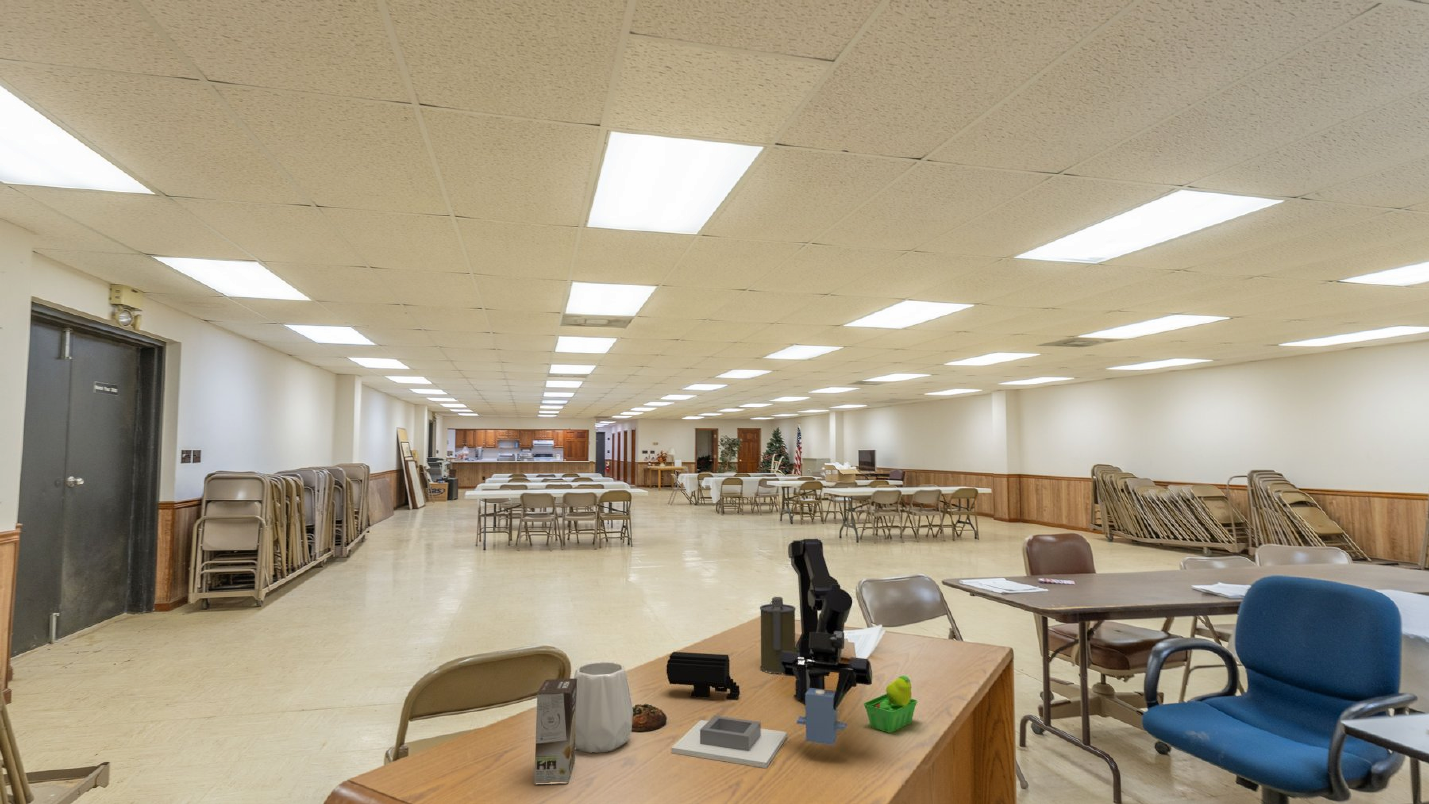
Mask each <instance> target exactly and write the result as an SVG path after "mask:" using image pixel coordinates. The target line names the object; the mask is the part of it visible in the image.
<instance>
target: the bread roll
mask: <svg viewBox="0 0 1429 804" xmlns="http://www.w3.org/2000/svg"><path fill="white" fill-rule="evenodd" d="M632 708H633V718H632V730H631V732H632V731H633V732H651V731H655V730H659V729H660V728H662V727H665V726H666V724H667V719H668V717H667V715H666V714H665V712H664V711H663V710H662V709H659V707H656V706H653V705H652V704H648V703H644V704H643V703H642V704H640V703H639V704H635V705H634V706H632Z"/></svg>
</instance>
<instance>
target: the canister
mask: <svg viewBox="0 0 1429 804" xmlns="http://www.w3.org/2000/svg"><path fill="white" fill-rule="evenodd" d="M759 610H760V668H761V669H760V670H761V671H762V670H763V671H762V672H764V671H767V672H771V673H770V674H772V673H779V674H778V675H782V674H781V673H782V670H781V667H780V664H779V656H780V654H781V653H782V652H783V651H793V652H795V651H796V607H795V606H793V605H790V604H784V599H783V597H782V596H773V597H772V598H771V601H770V603H769V604H767V603H766V604H763V605H761V606H759Z"/></svg>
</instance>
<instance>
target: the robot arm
mask: <svg viewBox="0 0 1429 804" xmlns="http://www.w3.org/2000/svg"><path fill="white" fill-rule="evenodd" d="M823 544H824V543H823V541H822V540H821V539H819V538H803V539H799V540H797V539H796V540H793V539H792V542H791V543H789V544H788V546H787V555H788V558H789V559H790V565H791V567H792V569H793V570H794V572H795V574H796V575H797V580H798V582H797V583H798V596H799V598H798V600H799V613H800V616H799V617H800V628H801V630H800V631H801V635H800V636H799V638H798V640H797V641H796V643H795V652H793V651H783V652H782V653H781V654H780V656H779V664H780V667H781V670H782V673H783V674H782V675H784V676H787V677H794V678H795V683H794V684H795V694H794V695H793V698H795V699H797V700H798V701H800V702H801V703H803V705H804V707H806V704H805V694H806V692H807V691H808V690H809V688H816V689H824V690H826V689H825V687H826V684H825V683H826V682H825V679H826V678H825V677H829V676H830V675H831V673H835V674H838V679H837V683H836V689H835V691H836V692H835V697H834V705H833V708H834V710H836V709H837V710H838V708H839V706H840V704H841V703H842V700H843V699H844V698H845V696H846V695H847V693H849V691H850V690H851V689H852V688H856V687H857V686H858V685H865V686H866V685H867V686H871V685H873V669H872V665H871V661H870V660H869V659H868V658H865V657H863V658H862V657H853V656H850V659H849V663H843V662H841V656H842V651H843V650H844V649H845V632H844V631H845V623H847V621H848V618H849V615H850V611H851V609H852V606H853V597H852V596H851V595H850V593H848V591H847V590H845V589H842V588H841V585H840V584H839V582H838V580H837V579H836V578H834V577H833V576H831V575H830V572H829V569H828V566H827V563H826V559H825V557H824V546H823ZM818 612H820V613H818Z"/></svg>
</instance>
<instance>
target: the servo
mask: <svg viewBox="0 0 1429 804" xmlns="http://www.w3.org/2000/svg"><path fill="white" fill-rule="evenodd" d="M835 692H836V690H833V689H832V690H831V689H825V690H824V689H816V688H809V690H808V691H807V692H806V694H805V704H806V706H805V716H798V718H797V719H796V724H798V725H804V726H805V742H809V743H817V744H823V745H828V746H829V745H830V746H835V743H836V741H837V739H838V730H840V731H845V730H846V728H847V722H845V721H838V708H837V709H836V710H834V708H833V705H834V697H835Z"/></svg>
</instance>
